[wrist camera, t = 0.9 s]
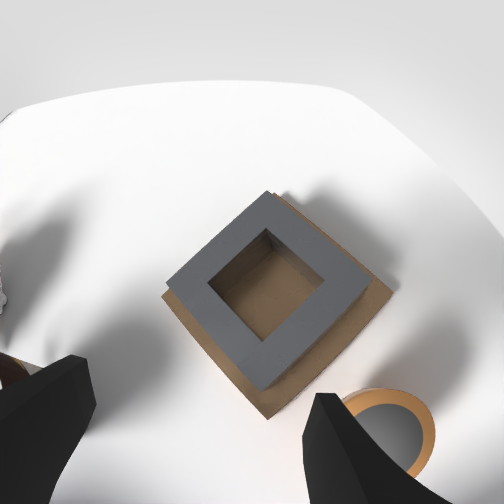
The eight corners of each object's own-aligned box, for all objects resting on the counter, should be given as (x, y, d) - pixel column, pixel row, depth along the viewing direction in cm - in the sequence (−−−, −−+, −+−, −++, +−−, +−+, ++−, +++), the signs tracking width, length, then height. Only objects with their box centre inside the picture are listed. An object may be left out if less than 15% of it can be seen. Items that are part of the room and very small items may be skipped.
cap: (418, 420, 17) (455, 433, 11) (358, 479, 16) (373, 515, 10) (364, 369, 19) (384, 365, 13) (302, 428, 18) (297, 449, 13)
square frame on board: (390, 296, 21) (406, 276, 17) (269, 418, 19) (258, 428, 15) (275, 199, 26) (267, 165, 22) (166, 299, 24) (138, 282, 20)
